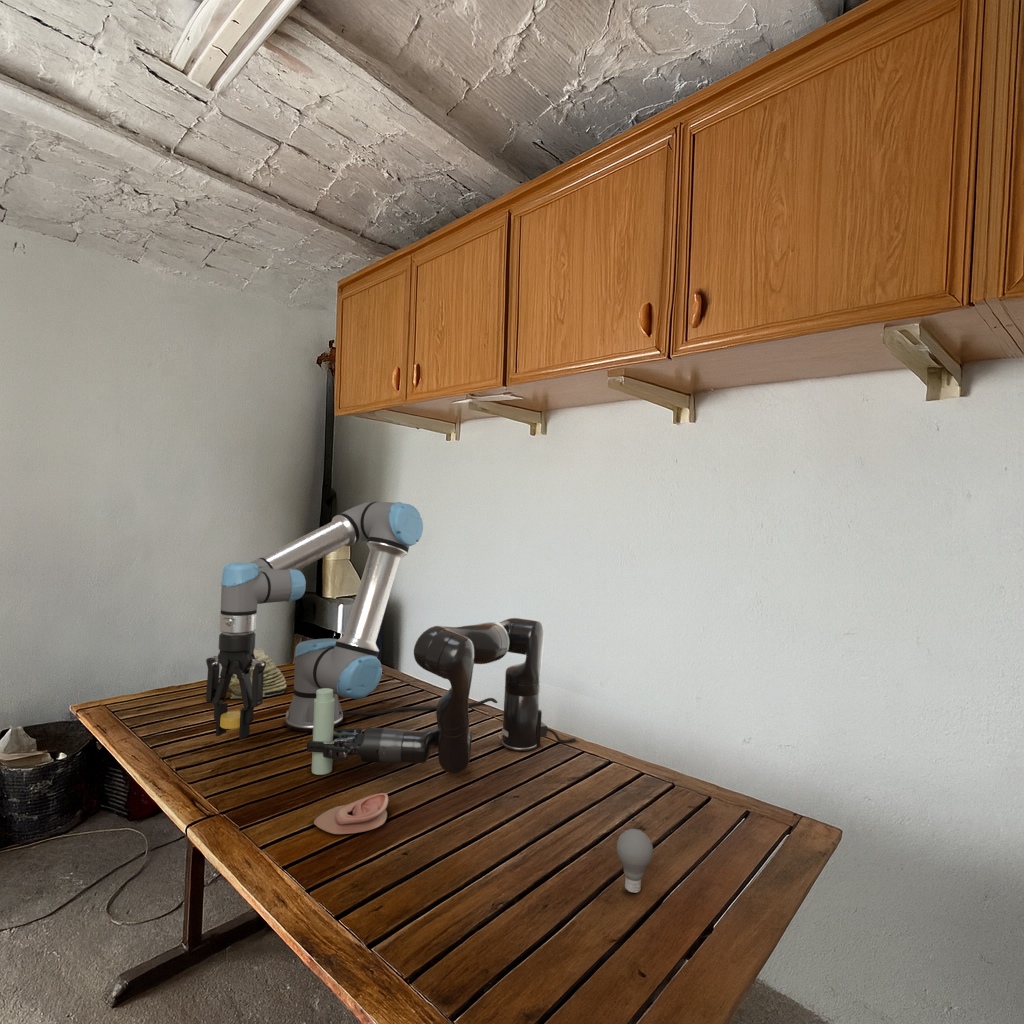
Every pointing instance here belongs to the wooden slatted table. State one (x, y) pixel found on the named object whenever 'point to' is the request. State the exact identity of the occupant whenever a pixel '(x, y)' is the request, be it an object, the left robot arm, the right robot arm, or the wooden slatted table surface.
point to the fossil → (271, 677)
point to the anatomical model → (355, 816)
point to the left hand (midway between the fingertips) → (232, 735)
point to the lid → (230, 720)
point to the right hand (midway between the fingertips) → (311, 741)
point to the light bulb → (634, 857)
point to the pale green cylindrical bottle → (323, 728)
